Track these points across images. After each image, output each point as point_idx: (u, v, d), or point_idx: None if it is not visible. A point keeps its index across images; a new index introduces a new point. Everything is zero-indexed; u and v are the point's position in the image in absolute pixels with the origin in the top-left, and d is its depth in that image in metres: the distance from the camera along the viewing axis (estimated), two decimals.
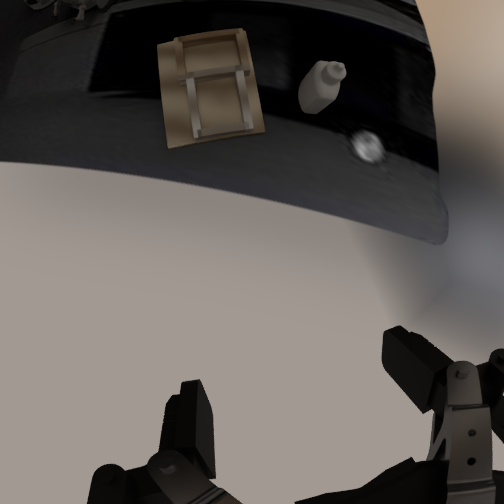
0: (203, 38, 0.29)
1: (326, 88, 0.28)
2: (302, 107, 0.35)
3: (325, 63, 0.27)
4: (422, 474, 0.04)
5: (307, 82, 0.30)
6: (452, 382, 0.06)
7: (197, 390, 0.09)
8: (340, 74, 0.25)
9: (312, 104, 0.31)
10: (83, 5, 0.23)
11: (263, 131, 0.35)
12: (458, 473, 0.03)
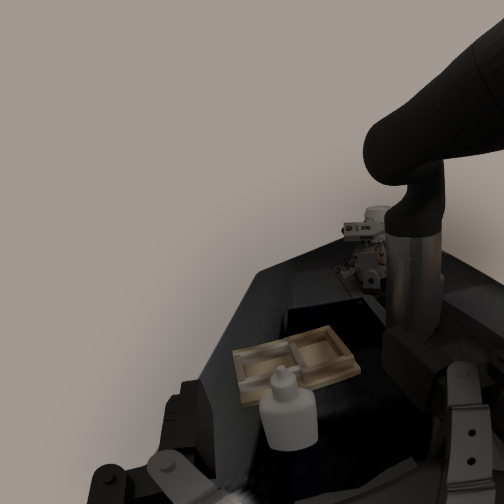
0: (332, 340, 0.40)
1: (269, 395, 0.25)
2: None
3: (306, 391, 0.24)
4: (422, 474, 0.04)
5: None
6: (452, 382, 0.06)
7: (197, 390, 0.09)
8: (275, 379, 0.23)
9: None
10: (353, 269, 0.57)
11: (242, 402, 0.33)
12: (458, 473, 0.03)
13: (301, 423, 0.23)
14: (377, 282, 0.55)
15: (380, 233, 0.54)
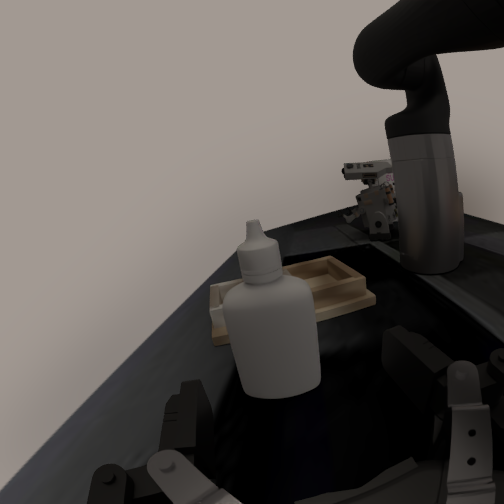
0: (336, 266, 0.32)
1: (238, 285, 0.17)
2: None
3: (297, 278, 0.17)
4: (422, 474, 0.04)
5: None
6: (452, 382, 0.06)
7: (197, 390, 0.09)
8: (245, 242, 0.16)
9: None
10: (357, 212, 0.50)
11: (213, 336, 0.26)
12: (458, 473, 0.03)
13: (291, 334, 0.16)
14: (385, 225, 0.47)
15: (384, 171, 0.47)
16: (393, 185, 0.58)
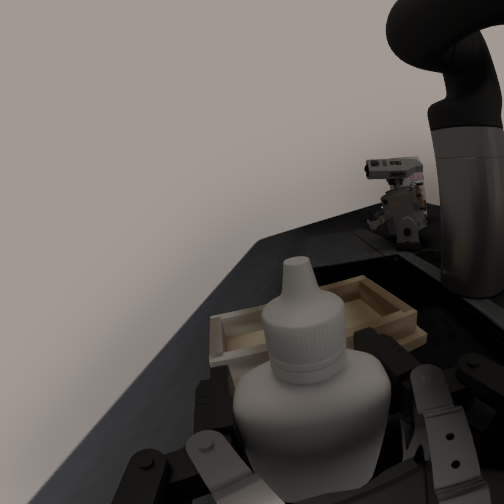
0: (374, 292, 0.24)
1: (260, 370, 0.09)
2: None
3: (366, 357, 0.09)
4: (405, 484, 0.04)
5: None
6: (418, 387, 0.07)
7: (227, 374, 0.10)
8: (279, 305, 0.08)
9: None
10: (383, 217, 0.41)
11: None
12: (444, 478, 0.03)
13: (350, 447, 0.07)
14: (415, 233, 0.38)
15: (414, 170, 0.38)
16: None
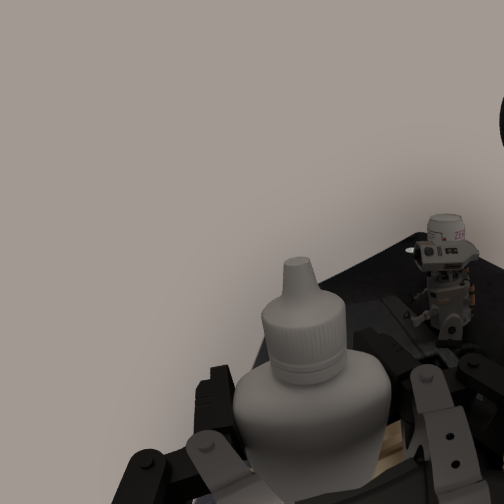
0: None
1: (260, 370, 0.09)
2: None
3: (367, 357, 0.09)
4: (405, 484, 0.04)
5: None
6: (418, 387, 0.07)
7: (227, 374, 0.10)
8: (280, 306, 0.08)
9: None
10: (428, 313, 0.33)
11: None
12: (444, 478, 0.03)
13: (351, 448, 0.07)
14: (460, 331, 0.30)
15: (469, 259, 0.29)
16: None
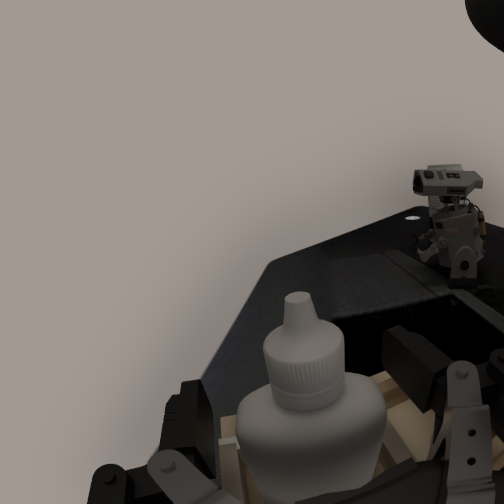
0: None
1: (262, 393, 0.09)
2: None
3: (364, 381, 0.09)
4: (422, 474, 0.04)
5: None
6: (452, 382, 0.06)
7: (197, 390, 0.09)
8: (281, 339, 0.08)
9: None
10: (437, 246, 0.29)
11: None
12: (458, 473, 0.03)
13: (347, 464, 0.08)
14: (474, 267, 0.26)
15: (473, 186, 0.26)
16: (461, 200, 0.38)
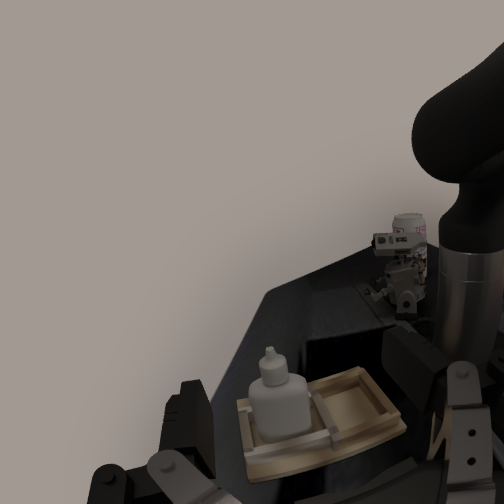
0: (370, 389, 0.27)
1: (258, 380, 0.24)
2: None
3: (298, 377, 0.24)
4: (422, 474, 0.04)
5: None
6: (452, 382, 0.06)
7: (197, 390, 0.09)
8: (264, 361, 0.23)
9: None
10: (385, 290, 0.45)
11: (249, 477, 0.20)
12: (458, 473, 0.03)
13: (293, 411, 0.23)
14: (414, 306, 0.42)
15: (418, 246, 0.42)
16: None
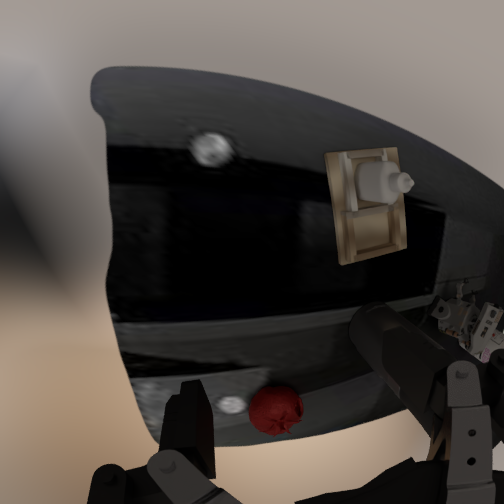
0: (380, 248, 0.40)
1: (396, 169, 0.31)
2: None
3: (394, 198, 0.32)
4: (422, 474, 0.04)
5: None
6: (452, 382, 0.06)
7: (197, 390, 0.09)
8: (404, 177, 0.28)
9: None
10: (459, 297, 0.42)
11: (327, 153, 0.37)
12: (458, 473, 0.03)
13: (372, 189, 0.34)
14: (436, 315, 0.45)
15: (471, 344, 0.36)
16: None
